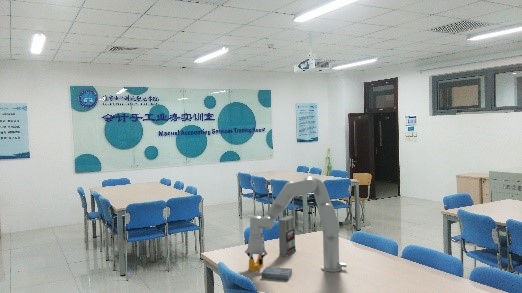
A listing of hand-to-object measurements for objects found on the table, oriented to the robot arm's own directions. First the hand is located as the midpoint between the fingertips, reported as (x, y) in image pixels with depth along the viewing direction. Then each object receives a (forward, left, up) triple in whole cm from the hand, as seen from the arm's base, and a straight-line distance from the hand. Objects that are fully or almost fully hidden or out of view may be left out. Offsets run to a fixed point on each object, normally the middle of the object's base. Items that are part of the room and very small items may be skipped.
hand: (256, 263), depth 255 cm
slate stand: (-16, +10, -3) cm, 19 cm away
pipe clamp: (0, -1, -3) cm, 3 cm away
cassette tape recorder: (-13, -33, -3) cm, 36 cm away
